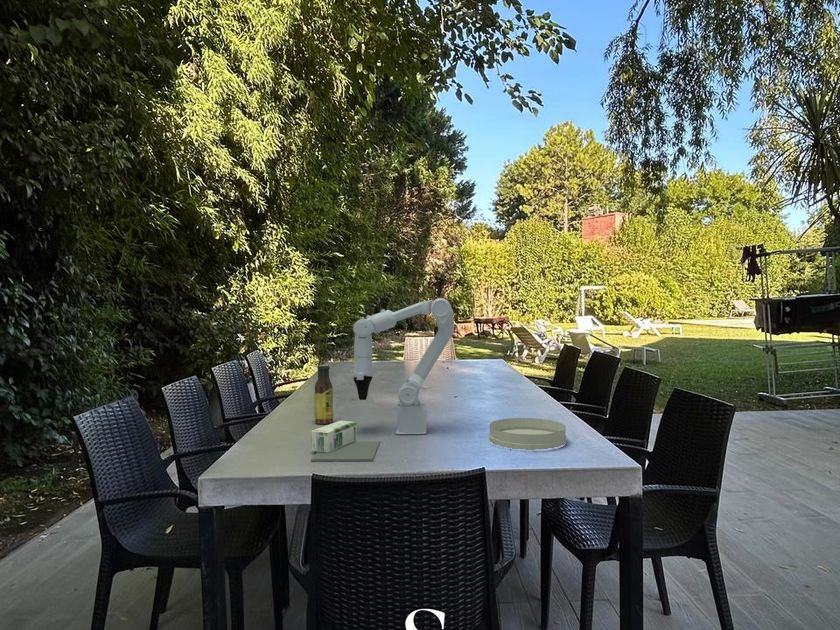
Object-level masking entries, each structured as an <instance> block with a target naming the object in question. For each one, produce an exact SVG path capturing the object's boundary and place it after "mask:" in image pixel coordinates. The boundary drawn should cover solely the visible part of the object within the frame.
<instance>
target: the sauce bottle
mask: <svg viewBox="0 0 840 630" xmlns="http://www.w3.org/2000/svg"><path fill="white" fill-rule="evenodd" d="M333 418H334V388H333V385H332V382H331V379H330V365H328V364H322V365H321V364H319V365H317V380H316V382H315V384H314V423H315V424H316V425H329V424H332V423H333Z"/></svg>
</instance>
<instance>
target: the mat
mask: <svg viewBox="0 0 840 630" xmlns="http://www.w3.org/2000/svg"><path fill="white" fill-rule="evenodd" d="M380 444H381V441H377V440H375V441H369V440H368V441H354V442H352V443H349V444H347V445H345V446H342V447H340V448H338V449H336V450H333V451H331V452H328V453H326V452H318V451H316V453H314V455H313V456H312V457H311V459H310V462H311V461H323V462H325V463H329V462H331V463H332V462H333V463H334V462H335V463H338V462H339V463H341V462H342V463H343V462H344V463H345V462H354V463H355V462H357V463H359V462H373V461H374V459H375V456H376V454H377V451H378V449H379V447H380ZM323 462H322V463H323Z"/></svg>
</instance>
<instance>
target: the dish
mask: <svg viewBox="0 0 840 630" xmlns="http://www.w3.org/2000/svg"><path fill="white" fill-rule="evenodd" d="M566 430H567V429H566V425H564V424H563V423H561V422H559V421H556V420H551V419H545V418H538V417H537V418H536V417H512V418H511V417H510V418H508V417H507V418H503V419H496V420H494V421H492V422H490V424H489V434H488V441H489V440H490V442H492V443H493V444H495V445H499V446H502V447H507V448H512V449H526V450H535V449H548V448H554V447H559V446H561V445H564V444H565V443H566V444H567V435H566ZM490 442H489V443H490Z"/></svg>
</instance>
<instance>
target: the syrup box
mask: <svg viewBox="0 0 840 630" xmlns="http://www.w3.org/2000/svg"><path fill="white" fill-rule="evenodd" d="M310 432H311V437H310V438H311V439H310V440H311V442H310V444H311V447H310V448H311V451H313V452H317V451H318V452H326V453H328V452H331V451H333V450H336V449H338V448H340V447H342V446H345V445H347V444H349V443H352V442H357V421H349V420H338V421H335V422H332V423H329V424H325V425H324V426H321V427H318V428H315V429H313V430H311V431H310Z"/></svg>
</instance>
